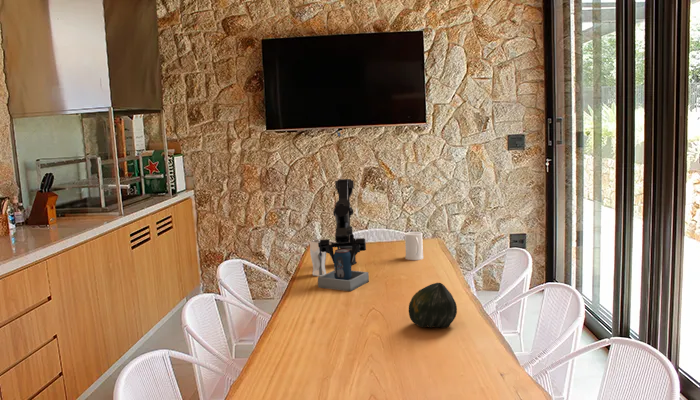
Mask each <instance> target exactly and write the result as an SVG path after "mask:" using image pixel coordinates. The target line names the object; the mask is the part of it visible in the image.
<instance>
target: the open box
mask: <svg viewBox="0 0 700 400" xmlns="http://www.w3.org/2000/svg"><path fill="white" fill-rule="evenodd" d="M351 274H352V276H351V278H350V280H341V279H335V277H334V270H332V271H329V272H326V274H325V275H323V276H317V288H320V289H329V290H336V291H337V290H338V291H344V292H353V291H355V290H357V289H358V288H360V287H362V286H363V285H366V284H367V283H369V280H370V279H369V277H370V276H369V272H368V271H362V270H361V271H359V270H352V269H351Z"/></svg>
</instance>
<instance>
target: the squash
mask: <svg viewBox="0 0 700 400" xmlns="http://www.w3.org/2000/svg"><path fill="white" fill-rule="evenodd" d="M457 307H458V306H457V302H456V300H455V299H454V296H453V295H452V293H451V292H450V291H449V289H448V288H447V287H446V286H445V284H443V283H442V282H436V283H434V282H433V283H431V284H429V285H427V286H425V287H423V288H421V289H419V290H418V291H417V292H415V294H414V295H413V296H412V297H411V300H410V301H409V304H408V316H409V319H410V321H412V322H411V323H413V324H414V325H417V326H418V327H420V328H427V327H428V328H433V327H434V328H440V329H444V328H447V327H449V326H451V324H452V323H453V322H454V321H455V319H456V317H457V313H458V308H457Z"/></svg>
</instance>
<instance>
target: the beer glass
mask: <svg viewBox="0 0 700 400" xmlns="http://www.w3.org/2000/svg"><path fill="white" fill-rule="evenodd" d="M321 239H322V238H315V239H312V240H310V242H309V251H310V252H309V253H310V259H311V263H312V274H311V275H312V277H313V276H314V277H320V276H323V275H325V274H327V270H326V260H327V253H326V252H321V251H320V245H319V242H320V240H321Z"/></svg>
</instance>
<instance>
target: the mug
mask: <svg viewBox="0 0 700 400" xmlns="http://www.w3.org/2000/svg"><path fill="white" fill-rule="evenodd" d="M404 240H405V243H404V244H405V258H404V259H405V260H407V261H421V260H424V249H423V248H424V247H423V246H424V244H423V242H424V241H423V232H421V231H408V232H407V231H406V232H405V233H404Z"/></svg>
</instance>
